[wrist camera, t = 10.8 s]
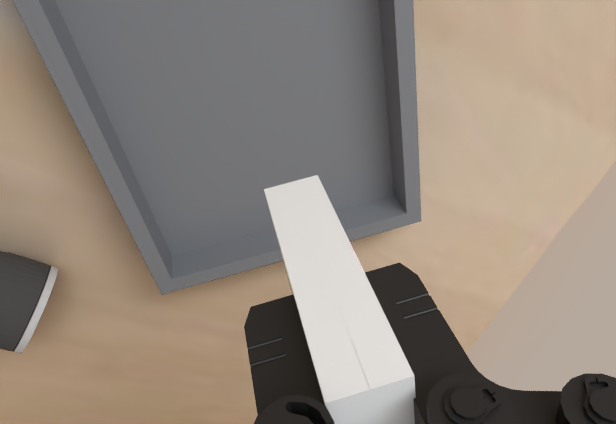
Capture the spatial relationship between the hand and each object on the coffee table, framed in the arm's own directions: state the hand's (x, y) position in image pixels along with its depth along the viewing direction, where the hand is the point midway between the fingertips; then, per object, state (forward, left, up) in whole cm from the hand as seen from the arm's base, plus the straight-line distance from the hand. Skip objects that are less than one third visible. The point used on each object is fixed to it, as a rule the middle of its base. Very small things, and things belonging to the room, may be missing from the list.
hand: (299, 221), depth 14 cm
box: (0, 0, -17) cm, 17 cm away
